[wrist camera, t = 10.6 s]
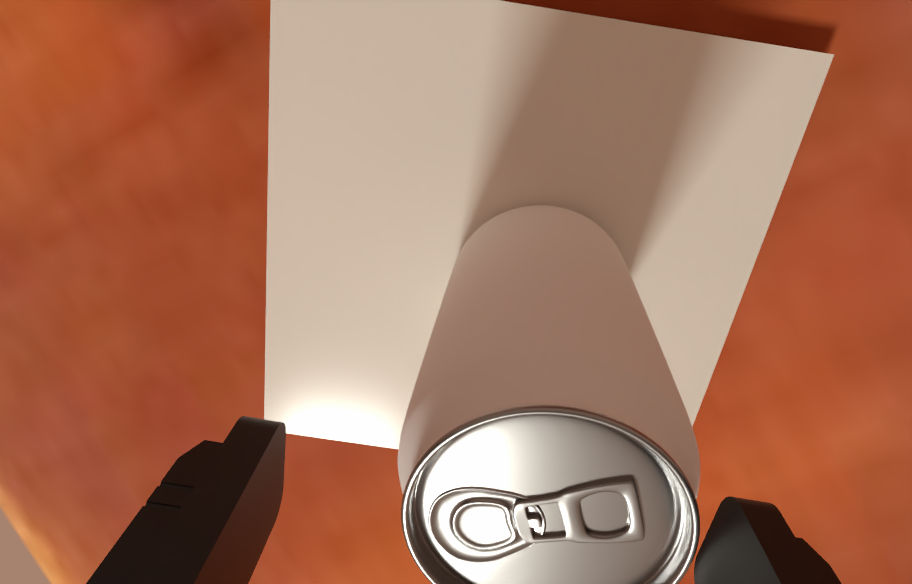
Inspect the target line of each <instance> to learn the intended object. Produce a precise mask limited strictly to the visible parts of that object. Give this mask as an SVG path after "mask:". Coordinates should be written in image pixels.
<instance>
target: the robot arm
mask: <svg viewBox="0 0 912 584" xmlns="http://www.w3.org/2000/svg"><path fill="white" fill-rule="evenodd" d="M285 439H286V427H285V424H284V423H283V422H277V421H271V420H264V419H258V418H252V417H246V416H242V417H241V418H240V419H239V420H238V421H237V422H236V424H235V425H234V427H233V428H232V430H231V432H230V433H229V435H228V436H227V438H226V439H225V441H224V442H223V443H219V442H213V441H207V440H204V441H203V442H201V443H200V444H198V445H197V446H195V447H194V448H192V449H191V450H189V451H188V452H187V453H185V454H184V455H182V456H181V457H179V458H178V459H177V460H176V462H175V463H174V465H173V466H172V467H171V469H170V470H169V471H168V473H167V474H166V475H165V477H164V478H163V480H162V481H161V485H160V486H157V488H156V489H155V490H154V492H153V493H152V495H151V496H150V497H149V499H148V500H147V503H146V506H143V507H142V508H141V510H140V511H139V512H138V514H137V515H136V516H135V518H134V519H133V520H132V522H131V523H130V525H129V526H128V527H127V529H126V530H125V531H124V533H123V534H122V535H121V537H120V538H119V540H118V541H117V542H116V544H115V545H114V546H113V548H112V549H111V550H110V552H109V553H108V555H107V556H106V557H105V559H104V560H103V561H102V563H101V564H100V565H99V567H98V568H97V570H96V571H95V572H94V574H93V575H92V576H91V578H90V579H89V580H88V582H87V583H86V584H248V583H249V580H250V578H251V576H252V574H253V571H254V569H255V567H256V565H257V562H258V560H259V558H260V555H261V553H262V551H263V549H264V546H265V544H266V542H267V540H268V537H269V535H270V533H271V531H272V528H273V526H274V524H275V521H276V518H277V515H278V512H279V508H280V504H281V499H282V494H283V483H284V461H285ZM694 581H695V584H841V582H840V581H839V579H838V577H837V576H836V574H835V573H834V571H833V570H832V568H831V566H830V565H829V564H828V563H827V562H826V561H825V560H824V559H823V558H822V557H821V556H820V555H819V554H818V553H817V552H816V551H815V550H814V549H813V548H812V547H811V546H810V545H809V544H808V543H807V542H806V541H804V540H803V539H802V538H796V537H795V536H794V534H793V533H792V531H791V529H790V528H789V526H788V524H787V523H786V521H785V519H784V518H783V516H782V514H781V513H780V511H779V510H778V508H777V507H776V506H775V505H773V504H771V503H766V502H760V501H754V500H748V499H742V498H736V497H726V498H725V499H724V500H723V501H722V502H721V504H720V506H719V508H718V510H717V512H716V514H715V517H714V519H713V521H712V523H711V526H710V528H709V530H708V532H707V534H706V537H705V539H704V541H703V543H702V545H701V548H700V550H699V552H698V554H697V557H696V561H695V567H694Z"/></svg>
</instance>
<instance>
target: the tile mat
mask: <svg viewBox="0 0 912 584" xmlns="http://www.w3.org/2000/svg"><path fill="white" fill-rule="evenodd" d="M833 56H834V54H827V53H821V52H815V51H809V50H803V49H797V48H790V47H784V46H778V45H772V44H766V43H760V42H754V41H747V40H741V39H735V38H729V37H723V36H717V35H710V34H704V33H698V32H692V31H686V30H680V29H673V28H667V27H661V26H655V25H649V24H643V23H636V22H630V21H624V20H618V19H612V18H606V17H599V16H593V15H587V14H581V13H575V12H569V11H562V10H556V9H550V8H544V7H538V6H532V5H525V4H519V3H513V2H507V1H501V0H271V11H270V76H269V142H268V207H267V272H266V338H265V403H264V420H271V421H277V422H283V423H284V424H285V427H286V433H289V434H296V435H303V436H310V437H317V438H324V439H331V440H338V441H345V442H352V443H359V444H366V445H373V446H380V447H387V448H394V449H399V442H400V436H401V431H402V427H403V423H404V420H405V416H406V412H407V409H408V406H409V402H410V399H411V396H412V393H413V390H414V386H415V383H416V380H417V377H418V374H419V371H420V368H421V364H422V361H423V358H424V355H425V352H426V349H427V346H428V343H429V340H430V337H431V333H432V330H433V327H434V324H435V321H436V318H437V315H438V312H439V309H440V306H441V303H442V300H443V297H444V294H445V291H446V288H447V285H448V282H449V279H450V276H451V273H452V270H453V268H454V265H455V262H456V260H457V257H458V255H459V253H460V251H461V250H462V248H463V246H464V245H465V243H466V242H467V240H468V239H469V238H470V237H471V235H472V234H473V233H474V232H475V231H476V230H477V229H478V228H479V227H481V226H482V225H483V224H484V223H486V222H487V221H489V220H490V219H492V218H494V217H495V216H497V215H499V214H502V213H504V212H506V211H509V210H512V209H516V208H520V207H525V206H534V205H547V206H556V207H561V208H565V209H568V210H571V211H574V212H577V213H579V214H581V215H583V216H585V217H587V218H589V219H590V220H592V221H593V222H595V223H596V224H597V225H598V226H600V227H601V228H602V229H603V230H604V231H605V232H606V233H607V234H608V235H609V236H610V238H611V239H612V240H613V242H614V243H615V244H616V246H617V248H618V249H619V251H620V253H621V255H622V257H623V259H624V261H625V264H626V266H627V268H628V270H629V273H630V275H631V277H632V280H633V282H634V284H635V287H636V289H637V291H638V294H639V296H640V299H641V301H642V303H643V306H644V308H645V310H646V313H647V315H648V318H649V320H650V322H651V325H652V327H653V330H654V332H655V335H656V337H657V339H658V342H659V344H660V347H661V349H662V351H663V354H664V356H665V359H666V361H667V364H668V366H669V369H670V371H671V373H672V376H673V378H674V381H675V383H676V386H677V388H678V391H679V393H680V396H681V398H682V401H683V403H684V406H685V408H686V411H687V414H688V417H689V419H690V422H691V425H692V426H693V423H694V421H695V418H696V416H697V413H698V410H699V408H700V405H701V402H702V400H703V397H704V395H705V392H706V389H707V387H708V384H709V382H710V379H711V376H712V374H713V371H714V368H715V366H716V363H717V361H718V358H719V355H720V353H721V350H722V347H723V345H724V342H725V340H726V337H727V334H728V332H729V329H730V326H731V324H732V321H733V319H734V316H735V313H736V311H737V308H738V305H739V303H740V300H741V298H742V295H743V292H744V290H745V287H746V284H747V282H748V279H749V277H750V274H751V271H752V269H753V266H754V263H755V261H756V258H757V256H758V253H759V250H760V248H761V245H762V243H763V240H764V237H765V235H766V232H767V229H768V227H769V224H770V222H771V219H772V216H773V214H774V211H775V208H776V206H777V203H778V201H779V198H780V195H781V193H782V190H783V187H784V185H785V182H786V180H787V177H788V174H789V172H790V169H791V166H792V164H793V161H794V159H795V156H796V153H797V151H798V148H799V145H800V143H801V140H802V138H803V135H804V132H805V130H806V127H807V124H808V122H809V119H810V117H811V114H812V111H813V109H814V106H815V104H816V101H817V98H818V96H819V93H820V90H821V88H822V85H823V83H824V80H825V77H826V75H827V72H828V69H829V67H830V64H831V62H832V59H833Z"/></svg>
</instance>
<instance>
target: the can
mask: <svg viewBox="0 0 912 584" xmlns="http://www.w3.org/2000/svg"><path fill="white" fill-rule="evenodd" d="M398 472H399V479H400V484H401V488H402V492H403V499H402V507H401V520H402V528H403V533H404V537H405V541H406V543H407V546H408V549H409V551H410V553H411V555H412V557H413V559H414V561H415V562H416V564H417V566H418V567H419V568H420V570H421V571H422V573H423V574H424V575H425V576H426V577H427V579H428V580H429V581H430V582H431V583H432V584H678V583H679V582H680V581H681V579H682V578H683V577H684V575H685V574H686V572H687V570H688V569H689V567H690V565H691V563H692V561H693V558H694V556H695V553H696V550H697V546H698V542H699V535H700V516H699V509H698V505H697V501H696V498H697V494H698V488H699V481H700V457H699V451H698V447H697V442H696V438H695V434H694V431H693V428H692V425H691V422H690V419H689V417H688V414H687V411H686V408H685V406H684V403H683V401H682V398H681V396H680V393H679V391H678V388H677V386H676V383H675V381H674V378H673V376H672V373H671V371H670V369H669V366H668V364H667V361H666V359H665V356H664V354H663V351H662V349H661V347H660V344H659V342H658V339H657V337H656V335H655V332H654V330H653V327H652V325H651V322H650V320H649V318H648V315H647V313H646V310H645V308H644V306H643V303H642V301H641V299H640V296H639V294H638V291H637V289H636V287H635V284H634V282H633V280H632V277H631V275H630V273H629V270H628V268H627V266H626V264H625V261H624V259H623V257H622V255H621V253H620V251H619V249H618V248H617V246H616V244H615V243H614V242H613V240H612V239H611V238H610V236H609V235H608V234H607V233H606V232H605V231H604V230H603V229H602V228H601V227H600V226H598V225H597V224H596V223H595V222H593V221H592V220H590V219H589V218H587V217H585V216H583V215H581V214H579V213H577V212H574V211H571V210H568V209H565V208H561V207H556V206H547V205H534V206H525V207H520V208H516V209H512V210H509V211H506V212H504V213H502V214H499V215H497V216H495V217H494V218H492V219H490V220H489V221H487V222H486V223H484V224H483V225H482V226H481V227H479V228H478V229H477V230H476V231H475V232H474V233H473V234H472V235H471V237H470V238H469V239H468V240H467V242H466V243H465V245H464V246H463V248H462V250H461V251H460V253H459V255H458V257H457V260H456V262H455V265H454V268H453V270H452V273H451V276H450V279H449V282H448V285H447V288H446V291H445V294H444V297H443V300H442V303H441V306H440V309H439V312H438V315H437V318H436V321H435V324H434V327H433V330H432V333H431V337H430V340H429V343H428V346H427V349H426V352H425V355H424V358H423V361H422V364H421V368H420V371H419V374H418V377H417V380H416V383H415V386H414V390H413V393H412V396H411V399H410V402H409V406H408V409H407V412H406V416H405V420H404V423H403V427H402V431H401V436H400V442H399V449H398Z"/></svg>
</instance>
